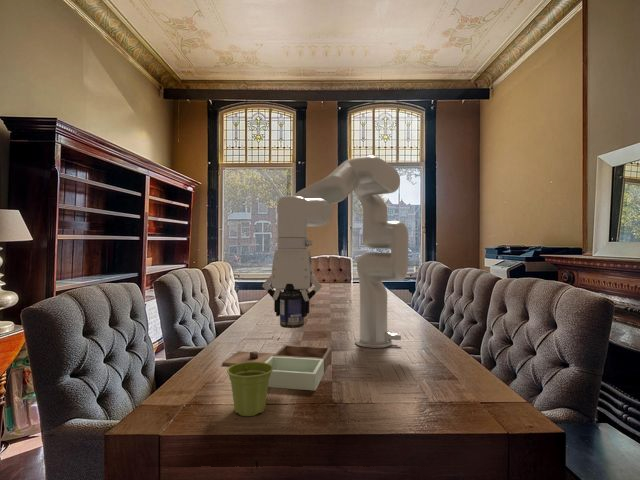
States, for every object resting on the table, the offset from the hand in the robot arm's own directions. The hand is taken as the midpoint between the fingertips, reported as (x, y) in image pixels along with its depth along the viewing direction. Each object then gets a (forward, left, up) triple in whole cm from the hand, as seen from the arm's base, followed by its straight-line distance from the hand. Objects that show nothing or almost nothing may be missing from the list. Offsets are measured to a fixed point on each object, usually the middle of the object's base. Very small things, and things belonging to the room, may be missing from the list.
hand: (291, 315), depth 95 cm
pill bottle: (0, 0, -3) cm, 3 cm away
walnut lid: (+15, -13, -16) cm, 26 cm away
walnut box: (0, -13, -16) cm, 21 cm away
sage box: (0, 0, -16) cm, 16 cm away
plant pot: (+4, +19, -17) cm, 25 cm away
